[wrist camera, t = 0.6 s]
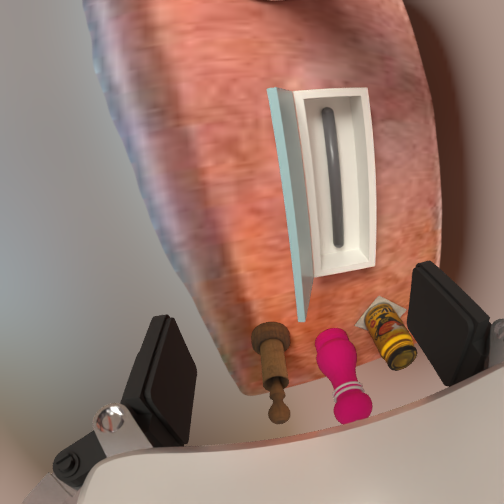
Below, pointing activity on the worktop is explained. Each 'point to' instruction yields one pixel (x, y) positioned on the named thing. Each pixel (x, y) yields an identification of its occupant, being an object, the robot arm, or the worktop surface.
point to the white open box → (338, 177)
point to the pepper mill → (342, 375)
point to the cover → (293, 193)
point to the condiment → (389, 333)
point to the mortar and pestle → (273, 365)
